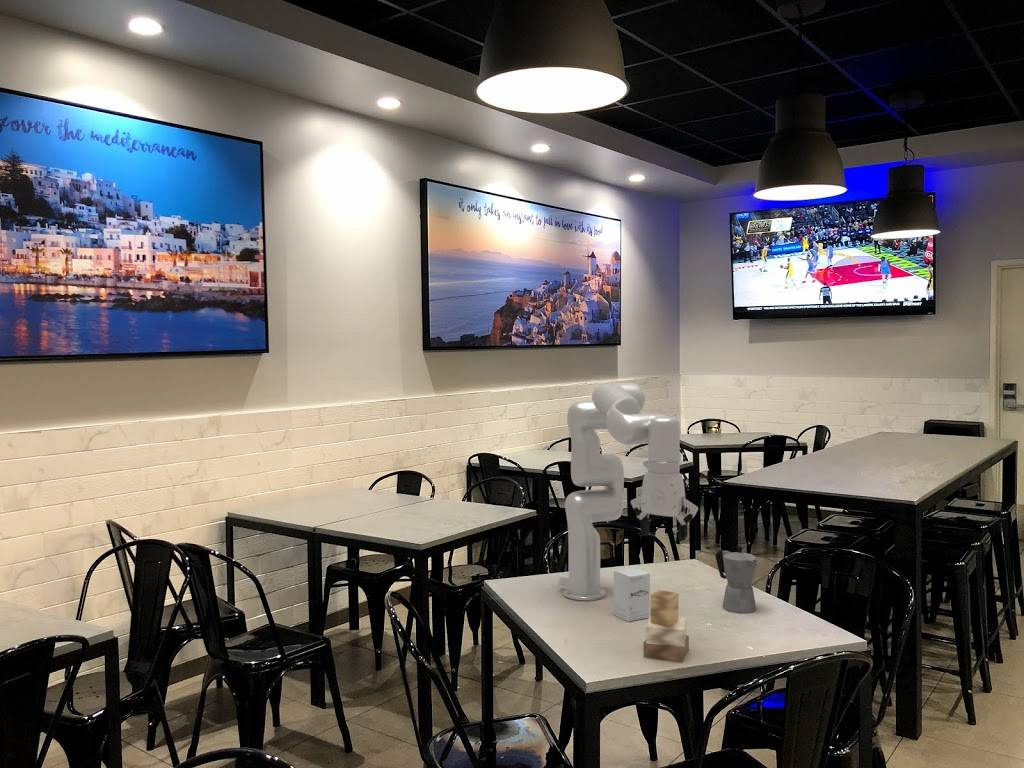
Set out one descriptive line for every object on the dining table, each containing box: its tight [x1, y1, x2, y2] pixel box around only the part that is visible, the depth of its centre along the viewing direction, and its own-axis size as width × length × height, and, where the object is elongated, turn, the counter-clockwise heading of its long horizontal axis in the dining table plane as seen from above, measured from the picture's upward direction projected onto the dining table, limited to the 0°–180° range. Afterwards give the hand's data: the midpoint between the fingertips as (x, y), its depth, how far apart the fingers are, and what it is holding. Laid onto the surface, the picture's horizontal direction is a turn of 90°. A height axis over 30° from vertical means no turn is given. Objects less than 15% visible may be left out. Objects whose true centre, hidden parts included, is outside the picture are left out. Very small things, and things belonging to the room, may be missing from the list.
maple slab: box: [645, 614, 687, 647], centre depth 203 cm, size 9×9×4 cm
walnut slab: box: [642, 634, 690, 664], centre depth 203 cm, size 9×9×4 cm
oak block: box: [650, 589, 680, 627], centre depth 203 cm, size 5×5×7 cm
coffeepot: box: [715, 545, 760, 614], centre depth 239 cm, size 15×9×18 cm, turn 33°
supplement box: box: [613, 567, 651, 623], centre depth 231 cm, size 7×7×13 cm
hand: (663, 537), depth 203 cm, fingers open, 9 cm apart
